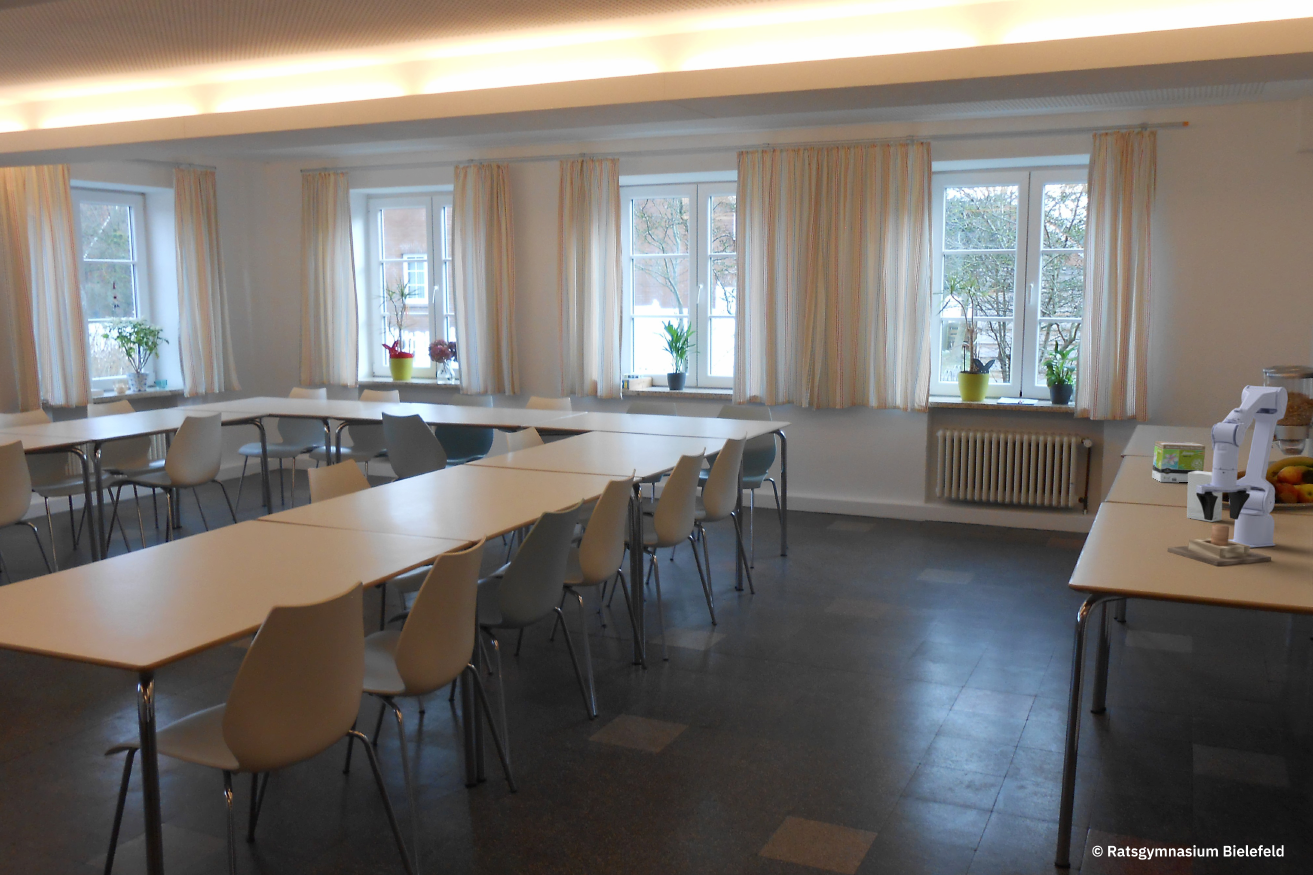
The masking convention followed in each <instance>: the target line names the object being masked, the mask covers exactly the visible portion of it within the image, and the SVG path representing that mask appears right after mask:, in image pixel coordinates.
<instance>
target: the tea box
mask: <svg viewBox="0 0 1313 875" xmlns="http://www.w3.org/2000/svg"><path fill="white" fill-rule="evenodd" d="M1205 455H1206V446H1205V445H1204V444H1200V443H1198V442H1195V441H1194V442H1192V441H1191V442H1188V441H1167V440H1166V441H1165V440H1164V441H1161V440H1155V441H1154V450H1153V459H1152V460H1153V461H1152V462H1153V463H1152V474H1151V478H1152V479H1153V478H1154V480H1155V479H1156V480H1155V481H1157V480H1158V482H1159V481H1160V482H1159V483H1179V482H1188V473H1189V472H1193V471H1204V467H1205V466H1204V465H1205Z"/></svg>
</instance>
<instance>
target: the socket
mask: <svg viewBox="0 0 1313 875" xmlns="http://www.w3.org/2000/svg"><path fill="white" fill-rule="evenodd" d="M1229 540H1230V539H1228V546H1217V545H1213V544H1211V537H1210V538H1198V539H1197V538H1196V539H1189V540H1188V545H1184V546H1182V545H1181V546H1171V547H1167V552H1168V551H1169V552H1168V553H1171V552H1172V554H1175V555H1177V556H1182V557H1186V558H1189V559H1192V560H1196V561H1199V562H1202V563H1206V564H1209V565H1212V566H1215V567H1217V566H1218V567H1219V566H1228V565H1230V566H1231V565H1239V564H1240V565H1242V564H1249V563H1262V562H1270V561H1272V556H1269V555H1266V554H1262V553H1258V552H1254V551H1251V548H1250V546H1248V545H1245V544H1241V543H1237V542H1233V541H1229Z"/></svg>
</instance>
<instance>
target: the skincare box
mask: <svg viewBox="0 0 1313 875" xmlns="http://www.w3.org/2000/svg"><path fill="white" fill-rule="evenodd" d="M1211 482H1212V471H1204V470H1203V471H1193V472H1189V473H1188V483H1187V497H1186V498H1187V502H1186V505H1187V506H1186V519H1190V518H1191V519H1192V520H1196V521H1197V520H1199V521H1204V522H1208V523H1209V522H1212V523H1214V522H1219V521H1222V518H1223V517H1222V514H1223V492H1218V493H1212V494H1214V495H1215V496H1218V498H1217V500H1216V503H1215V507H1214V514H1213V519H1212V521H1209V520H1206V519H1204V513H1203V509H1202V506H1201V503H1200V501H1199V499H1198V497H1197V495H1196V493H1197V492H1196V488H1197V485H1204V484H1210V483H1211ZM1191 519H1190V520H1191Z"/></svg>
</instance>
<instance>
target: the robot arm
mask: <svg viewBox="0 0 1313 875" xmlns="http://www.w3.org/2000/svg"><path fill="white" fill-rule="evenodd" d="M1288 397H1289V396H1288V391H1287V389H1286V388H1285V387H1284V386H1280V387H1279V386H1264V385H1263V386H1260V385H1257V386H1256V385H1250V384H1247V385H1246V386H1245V387H1244V388H1243V389H1242V392H1241V397H1240V398H1241V404H1240V406H1239V407H1235V408H1234V409H1232V410H1230V412H1229V414H1227V416H1226V417H1225V418H1224V419H1223V420H1222V421H1221V422H1219V421H1218V422H1217V423H1215V424H1213V426H1212V428H1211V432H1210V440H1211V450H1212V451H1213V456H1212V457H1213V458H1212V468H1211V469H1212V471H1211V472H1212V482H1211V483H1210V484H1204V485H1197V488H1196V492H1197V493H1196V495H1197V497H1198V499H1199V501H1200V503H1201V506H1202V509H1203V513H1204V519H1206V520H1209V521H1212V519H1213V514H1214V507H1215V503H1216V500H1217V498H1218V496H1215V495H1214V494H1212V493H1218V492H1222V493H1227V495H1228V498H1229V499H1228V504H1229V518H1230V519H1232V520H1234V527H1233V528H1234V529H1233V530H1234V531H1233V538H1232V539H1228V540H1229V541H1233V542H1237V543H1241V544H1245V545H1248V546H1250V549H1251V548H1262V547H1263V548H1264V547H1272V546H1276V543H1274V532H1275V519H1274V517H1273V516H1272V514H1270V513H1271V512H1272V511H1273V509H1274V508H1275V500H1276V498H1275V494H1276V490H1275V486H1274V485H1273V484H1272V483H1271V482H1269V481H1268V480H1267V479H1266V478H1267V471H1268V466H1269V463H1270V462H1269V461H1270V457H1271V456H1270V455H1271V451H1272V448H1273V446H1272V445H1273V441H1274V436H1275V430H1276V426H1277V423H1278V421H1279V420H1282V419H1284V417H1285V414H1286V410H1287V406H1288V405H1287V404H1288V399H1289V398H1288ZM1254 420H1255V424H1254V428H1253V429H1254V430H1253V434H1252V439H1251V446H1250V449H1249V451H1250V452H1249V456H1248V460H1247V466H1246V469H1245V470H1246V471H1245V476H1243V477H1240V478H1239V479H1238V468H1239V466H1238V465H1239V454H1240V446H1241V445H1242V444H1243V443H1244V439H1245V436H1246V431H1247V430H1248V428H1249V427H1250V426H1251V425H1252V423H1253V422H1254ZM1209 521H1208V522H1209Z"/></svg>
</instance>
